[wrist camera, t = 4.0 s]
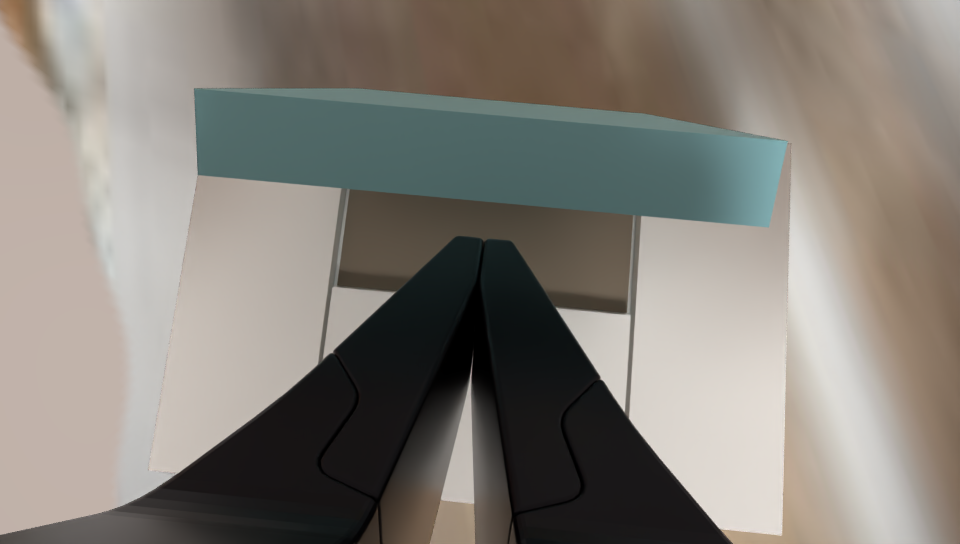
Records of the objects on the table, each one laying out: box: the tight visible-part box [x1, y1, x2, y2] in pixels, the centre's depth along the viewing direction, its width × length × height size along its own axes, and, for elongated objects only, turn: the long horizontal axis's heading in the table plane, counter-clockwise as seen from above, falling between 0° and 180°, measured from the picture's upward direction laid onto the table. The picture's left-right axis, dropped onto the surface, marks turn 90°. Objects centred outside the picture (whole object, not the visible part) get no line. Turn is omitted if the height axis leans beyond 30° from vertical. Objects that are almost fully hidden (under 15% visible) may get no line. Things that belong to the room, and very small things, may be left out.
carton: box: [148, 143, 791, 535], centre depth 16 cm, size 9×14×4 cm, turn 84°
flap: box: [194, 88, 788, 228], centre depth 11 cm, size 1×7×8 cm, turn 85°
